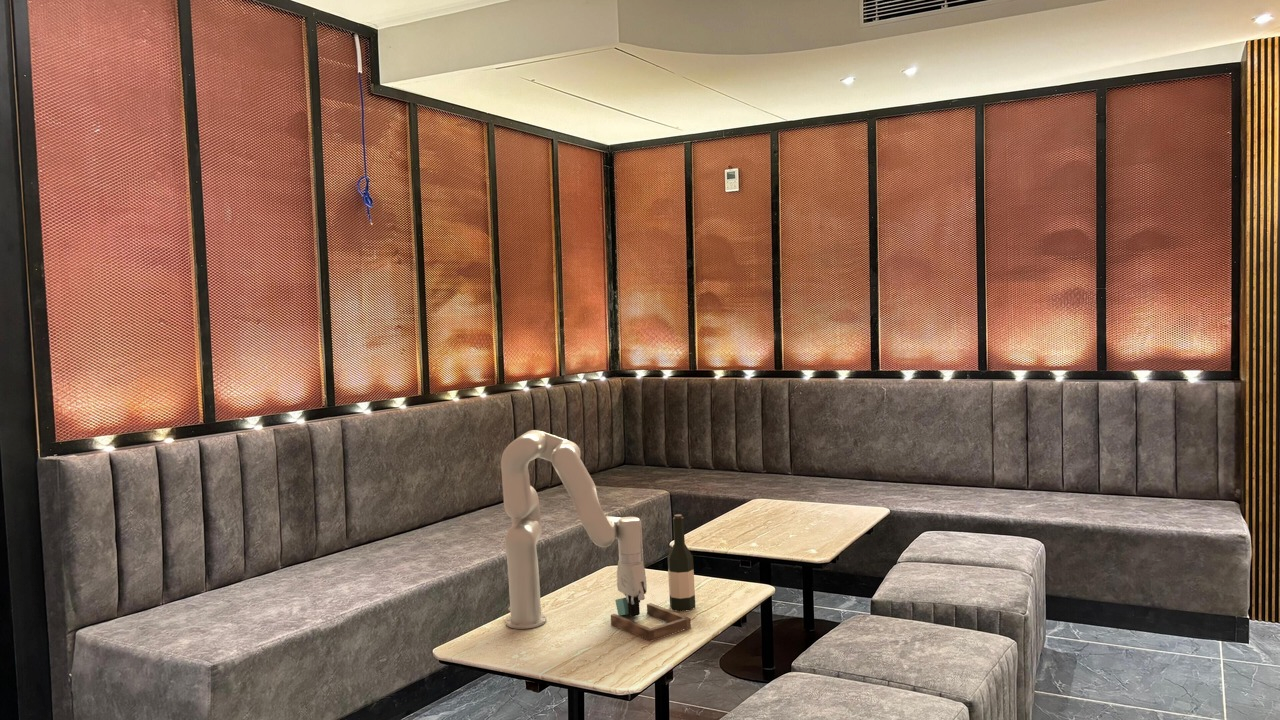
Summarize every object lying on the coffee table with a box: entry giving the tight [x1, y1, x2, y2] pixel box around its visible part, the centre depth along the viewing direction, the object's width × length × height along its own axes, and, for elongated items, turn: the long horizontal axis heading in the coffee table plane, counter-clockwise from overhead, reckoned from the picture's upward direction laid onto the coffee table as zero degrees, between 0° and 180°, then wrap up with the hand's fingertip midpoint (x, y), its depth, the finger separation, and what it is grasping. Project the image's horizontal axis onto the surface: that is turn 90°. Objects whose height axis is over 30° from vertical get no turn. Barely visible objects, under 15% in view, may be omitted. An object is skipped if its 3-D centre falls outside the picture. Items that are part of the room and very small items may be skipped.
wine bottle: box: [667, 513, 696, 612], centre depth 281 cm, size 8×8×30 cm
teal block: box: [614, 596, 629, 616], centre depth 277 cm, size 5×5×5 cm
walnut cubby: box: [610, 602, 692, 642], centre depth 266 cm, size 20×16×3 cm
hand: (634, 615), depth 273 cm, fingers closed
